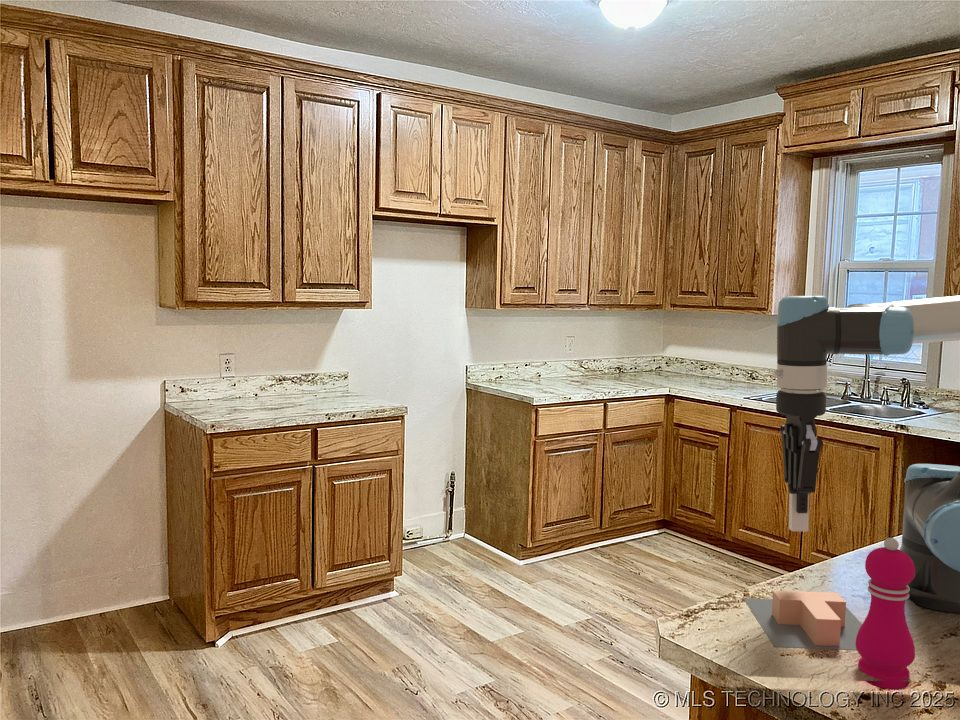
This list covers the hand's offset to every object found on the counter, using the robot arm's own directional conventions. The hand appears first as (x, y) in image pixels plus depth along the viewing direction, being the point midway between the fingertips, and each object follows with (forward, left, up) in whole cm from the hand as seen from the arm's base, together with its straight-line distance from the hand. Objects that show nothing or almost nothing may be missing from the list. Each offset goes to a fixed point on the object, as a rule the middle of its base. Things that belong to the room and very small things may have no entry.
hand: (798, 529), depth 125 cm
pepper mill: (-4, +23, -14) cm, 27 cm away
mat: (+1, +9, -13) cm, 16 cm away
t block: (+1, +11, -12) cm, 17 cm away
